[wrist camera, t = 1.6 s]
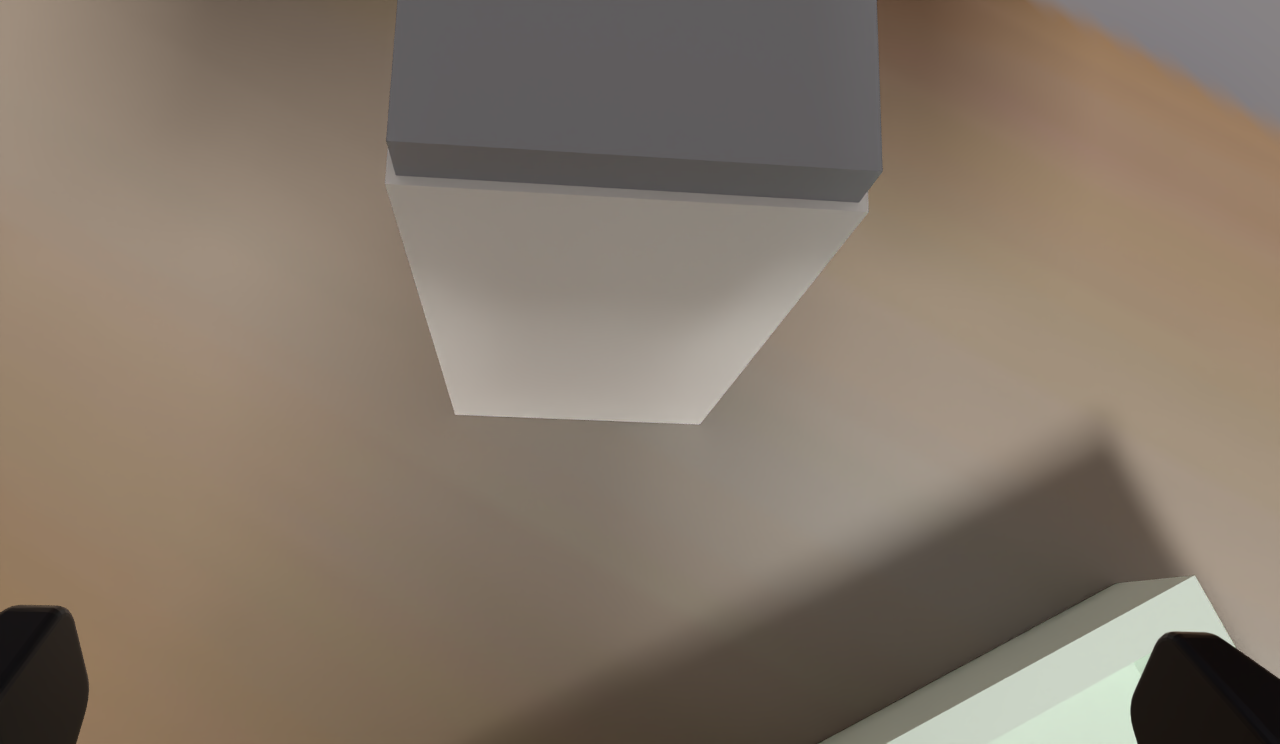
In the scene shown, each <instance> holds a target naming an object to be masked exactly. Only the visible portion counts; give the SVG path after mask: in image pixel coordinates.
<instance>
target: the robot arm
mask: <svg viewBox="0 0 1280 744" xmlns="http://www.w3.org/2000/svg"><path fill="white" fill-rule="evenodd" d="M88 694H89V682H88V676H87V672H86V667H85V663H84V659H83V655H82V651H81V647H80V642H79V638H78V634H77V630H76V626H75V622H74V619H73V617H72V614H71V613H70V612H69V610H68V609H66V608H64V607H61V606H49V605H16V606H12V607H9V608H7V609H5V610H4V611H2V612H0V744H76V742H77V739H78V736H79V732H80V729H81V725H82V722H83V719H84V715H85V712H86V708H87V702H88ZM1130 716H1131V723H1132V727H1133V731H1134V734H1135V737H1136V741H1137V744H1280V679H1279V678H1277V677H1276V676H1275V675H1273V674H1272V673H1270V672H1269V671H1268V670H1266V669H1265V668H1263V667H1262V666H1260V665H1259V664H1258V663H1256V662H1255V661H1253V660H1252V659H1250V658H1249V657H1248V656H1246V655H1245V654H1243V653H1242V652H1241V651H1239V650H1238V649H1236V648H1235V647H1233V646H1232V645H1231V644H1229V643H1228V642H1226V641H1225V640H1223V639H1222V638H1220V637H1219V636H1217V635H1215V634H1212V633H1207V632H1179V631H1172V632H1167V633H1165V634H1164V635H1162V636H1161V637H1160V638H1159V639H1158V640H1157V642H1156V644H1155V646H1154V648H1153V650H1152V653H1151V655H1150V657H1149V659H1148V662H1147V664H1146V666H1145V668H1144V671H1143V673H1142V675H1141V677H1140V679H1139V682H1138V684H1137V686H1136V688H1135V691H1134V693H1133V696H1132V700H1131V706H1130Z"/></svg>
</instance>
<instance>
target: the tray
mask: <svg viewBox="0 0 1280 744" xmlns="http://www.w3.org/2000/svg"><path fill="white" fill-rule="evenodd" d="M1172 631H1179V632H1207V633H1212V634H1215V635H1217V636H1219V637H1220V638H1222V639H1223V640H1225V641H1226V642H1228V643H1229V644H1231V645H1232V646H1233V647H1235V645H1234V644H1233V642H1232V640H1231V638H1230V637H1229V635H1228V633H1227V631H1226V630H1225V628H1224V626H1223V624H1222V623H1221V621H1220V619H1219V617H1218V615H1217V614H1216V612H1215V610H1214V608H1213V607H1212V605H1211V603H1210V601H1209V600H1208V598H1207V596H1206V594H1205V592H1204V591H1203V589H1202V587H1201V585H1200V584H1199V582H1198V580H1197V578H1196V577H1195V575H1192V576H1182V577H1173V578H1163V579H1153V580H1143V581H1133V582H1124V583H1116V584H1114V585H1112V586H1110V587H1108V588H1106V589H1105V590H1103V591H1101V592H1099V593H1097V594H1095V595H1093V596H1092V597H1090V598H1088V599H1086V600H1084V601H1082V602H1080V603H1079V604H1077V605H1075V606H1073V607H1071V608H1069V609H1067V610H1066V611H1064V612H1062V613H1060V614H1058V615H1056V616H1054V617H1053V618H1051V619H1049V620H1047V621H1045V622H1043V623H1041V624H1040V625H1038V626H1036V627H1034V628H1032V629H1030V630H1028V631H1027V632H1025V633H1023V634H1021V635H1019V636H1017V637H1015V638H1014V639H1012V640H1010V641H1008V642H1006V643H1004V644H1002V645H1001V646H999V647H997V648H995V649H993V650H991V651H989V652H988V653H986V654H984V655H982V656H980V657H978V658H976V659H975V660H973V661H971V662H969V663H967V664H965V665H963V666H962V667H960V668H958V669H956V670H954V671H952V672H950V673H948V674H947V675H945V676H943V677H941V678H939V679H937V680H935V681H934V682H932V683H930V684H928V685H926V686H924V687H922V688H921V689H919V690H917V691H915V692H913V693H911V694H909V695H908V696H906V697H904V698H902V699H900V700H898V701H896V702H895V703H893V704H891V705H889V706H887V707H885V708H883V709H882V710H880V711H878V712H876V713H874V714H872V715H870V716H869V717H867V718H865V719H863V720H861V721H859V722H857V723H856V724H854V725H852V726H850V727H848V728H846V729H844V730H843V731H841V732H839V733H837V734H835V735H833V736H831V737H830V738H828V739H826V740H824V741H822V742H820V743H818V744H1137V741H1136V737H1135V734H1134V731H1133V727H1132V723H1131V716H1130V706H1131V700H1132V696H1133V693H1134V691H1135V688H1136V686H1137V684H1138V682H1139V679H1140V677H1141V675H1142V673H1143V671H1144V668H1145V666H1146V664H1147V662H1148V659H1149V657H1150V655H1151V653H1152V650H1153V648H1154V646H1155V644H1156V642H1157V640H1158V639H1159V638H1160V637H1161V636H1162V635H1164V634H1165V633H1167V632H1172ZM1235 648H1236V647H1235Z"/></svg>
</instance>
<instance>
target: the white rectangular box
mask: <svg viewBox="0 0 1280 744" xmlns="http://www.w3.org/2000/svg"><path fill="white" fill-rule="evenodd" d="M386 142H387V146H388V152H387V165H386V177H385V186H386V189H387V192H388V196H389V199H390V202H391V206H392V209H393V212H394V215H395V219H396V222H397V225H398V229H399V232H400V235H401V238H402V242H403V245H404V248H405V251H406V255H407V258H408V261H409V265H410V268H411V271H412V274H413V278H414V281H415V284H416V288H417V291H418V294H419V297H420V301H421V304H422V307H423V311H424V314H425V317H426V320H427V324H428V327H429V330H430V334H431V337H432V340H433V343H434V347H435V350H436V353H437V357H438V360H439V363H440V366H441V370H442V373H443V376H444V380H445V383H446V386H447V389H448V393H449V396H450V399H451V402H452V406H453V409H454V412H455V415H471V416H496V417H522V418H547V419H573V420H598V421H623V422H649V423H674V424H699V425H700V424H701V422H702V421H703V420H704V419H705V417H706V416H707V415H708V414H709V412H710V411H711V410H712V409H713V407H714V406H715V405H716V404H717V402H718V401H719V400H720V399H721V397H722V396H723V395H724V393H725V392H726V391H727V390H728V388H729V387H730V386H731V385H732V383H733V382H734V381H735V380H736V378H737V377H738V376H739V375H740V373H741V372H742V371H743V370H744V368H745V367H746V366H747V365H748V363H749V362H750V361H751V359H752V358H753V357H754V356H755V354H756V353H757V352H758V351H759V349H760V348H761V347H762V346H763V344H764V343H765V342H766V341H767V339H768V338H769V337H770V336H771V334H772V333H773V332H774V331H775V329H776V328H777V327H778V325H779V324H780V323H781V322H782V320H783V319H784V318H785V317H786V315H787V314H788V313H789V312H790V310H791V309H792V308H793V307H794V305H795V304H796V303H797V302H798V300H799V299H800V298H801V297H802V295H803V294H804V293H805V291H806V290H807V289H808V288H809V286H810V285H811V284H812V283H813V281H814V280H815V279H816V278H817V276H818V275H819V274H820V273H821V271H822V270H823V269H824V268H825V266H826V265H827V264H828V263H829V261H830V260H831V259H832V257H833V256H834V255H835V254H836V252H837V251H838V250H839V249H840V247H841V246H842V245H843V244H844V242H845V241H846V240H847V239H848V237H849V236H850V235H851V234H852V232H853V231H854V230H855V229H856V227H857V226H858V225H859V223H860V222H861V221H862V220H863V218H864V217H865V216H866V215H867V213H868V212H869V210H868V190H869V189H870V187H871V186H872V185H873V183H874V182H875V181H876V179H877V178H878V177H879V175H880V174H881V173H882V172H883V168H882V139H881V110H880V81H879V52H878V23H877V0H398V2H397V14H396V26H395V39H394V51H393V63H392V76H391V88H390V100H389V113H388V125H387V137H386Z"/></svg>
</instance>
